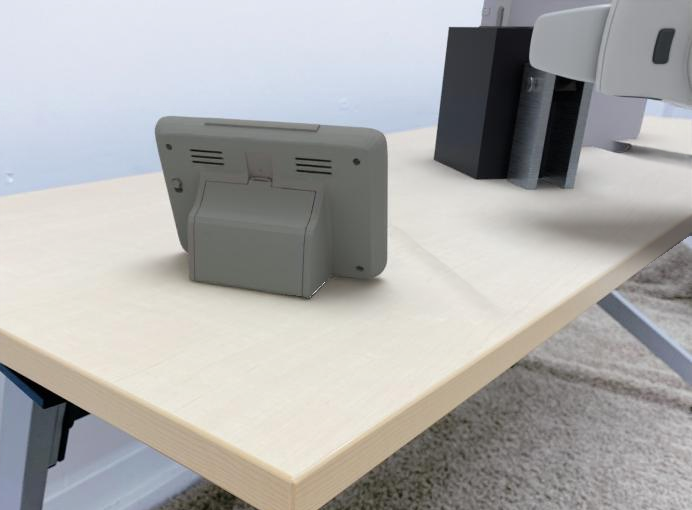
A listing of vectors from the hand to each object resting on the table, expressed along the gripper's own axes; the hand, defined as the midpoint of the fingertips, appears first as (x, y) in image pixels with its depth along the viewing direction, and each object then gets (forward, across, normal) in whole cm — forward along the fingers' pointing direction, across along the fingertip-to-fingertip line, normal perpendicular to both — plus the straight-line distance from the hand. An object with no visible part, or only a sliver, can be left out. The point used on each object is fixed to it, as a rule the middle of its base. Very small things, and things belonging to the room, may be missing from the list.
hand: (609, 39), depth 61 cm
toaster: (+16, 0, +15) cm, 22 cm away
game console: (+31, -15, +16) cm, 38 cm away
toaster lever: (+3, 0, +3) cm, 4 cm away
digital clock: (-14, +32, +15) cm, 38 cm away
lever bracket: (+7, 0, +15) cm, 17 cm away
